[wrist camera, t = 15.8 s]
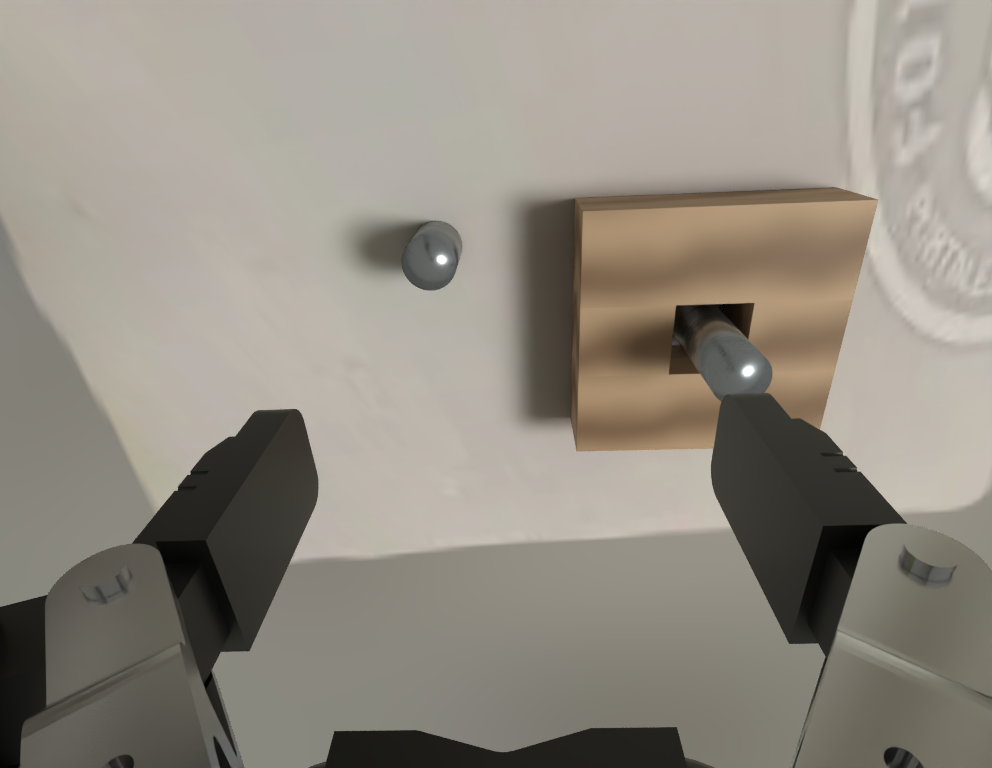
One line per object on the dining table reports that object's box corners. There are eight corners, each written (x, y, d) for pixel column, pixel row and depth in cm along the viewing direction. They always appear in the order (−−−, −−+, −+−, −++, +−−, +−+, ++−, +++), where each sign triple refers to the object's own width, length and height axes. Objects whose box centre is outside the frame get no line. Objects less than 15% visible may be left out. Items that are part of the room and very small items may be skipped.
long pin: (668, 293, 43) (715, 352, 33) (716, 291, 43) (777, 350, 33) (664, 337, 45) (707, 405, 35) (710, 335, 44) (766, 404, 35)
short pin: (411, 221, 41) (398, 237, 37) (460, 219, 41) (453, 235, 36) (416, 270, 43) (404, 291, 38) (463, 269, 42) (458, 289, 38)
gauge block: (575, 198, 40) (582, 211, 35) (836, 187, 39) (878, 199, 35) (570, 418, 48) (576, 451, 44) (786, 413, 47) (815, 446, 43)
